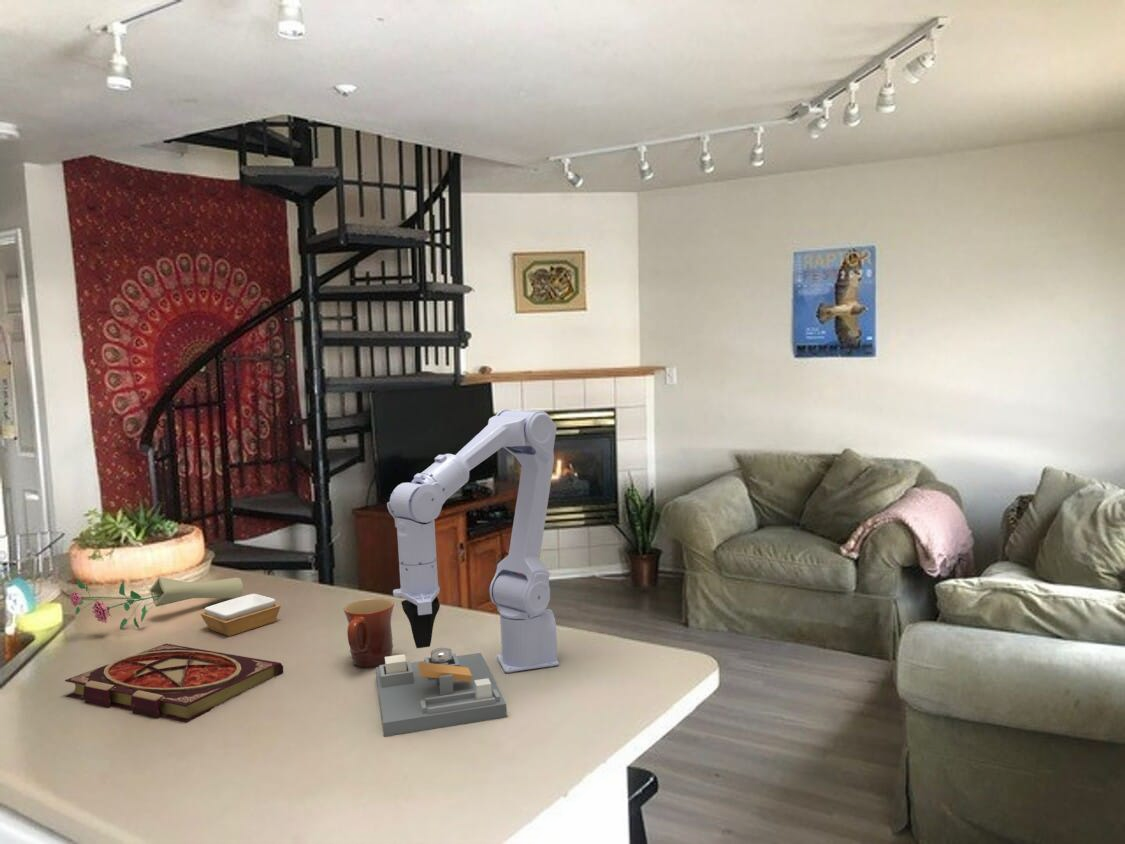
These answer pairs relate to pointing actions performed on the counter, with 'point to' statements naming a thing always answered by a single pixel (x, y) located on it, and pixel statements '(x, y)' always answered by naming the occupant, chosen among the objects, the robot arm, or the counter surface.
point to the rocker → (444, 671)
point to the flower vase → (165, 595)
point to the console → (435, 697)
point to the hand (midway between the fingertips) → (422, 646)
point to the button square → (395, 664)
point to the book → (172, 681)
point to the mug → (370, 631)
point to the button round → (441, 656)
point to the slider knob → (482, 689)
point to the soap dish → (241, 614)
